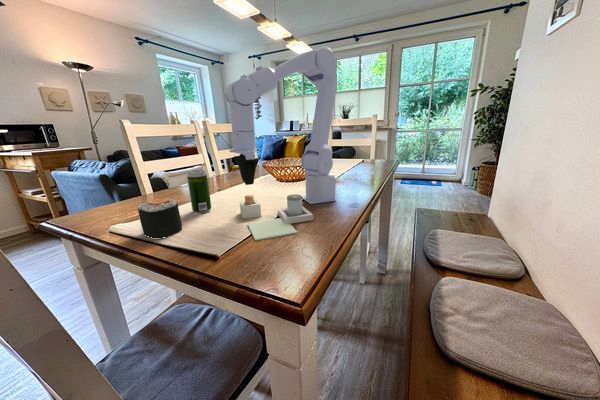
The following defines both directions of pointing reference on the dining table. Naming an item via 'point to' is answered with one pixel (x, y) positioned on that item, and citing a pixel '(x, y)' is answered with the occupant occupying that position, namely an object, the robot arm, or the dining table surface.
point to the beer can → (199, 191)
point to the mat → (271, 229)
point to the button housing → (250, 209)
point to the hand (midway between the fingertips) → (247, 182)
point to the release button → (249, 199)
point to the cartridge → (294, 205)
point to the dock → (295, 219)
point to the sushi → (160, 218)
